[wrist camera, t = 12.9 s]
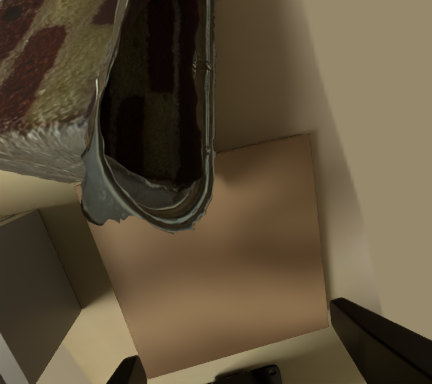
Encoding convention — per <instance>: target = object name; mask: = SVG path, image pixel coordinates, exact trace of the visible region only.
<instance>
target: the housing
mask: <svg viewBox="0 0 432 384" xmlns="http://www.w3.org/2000/svg"><path fill="white" fill-rule="evenodd" d="M81 311H82V309H81V307H80V305H79V303H78V300H77V298H76V296H75V294H74V291H73V289H72V287H71V284H70V282H69V280H68V278H67V275H66V273H65V271H64V269H63V266H62V264H61V262H60V259H59V257H58V255H57V253H56V250H55V248H54V246H53V244H52V241H51V239H50V237H49V234H48V232H47V230H46V228H45V225H44V223H43V221H42V219H41V216H40V214H39V212H38V209H36V210H32V211H27V212H23V213H21V214H18V215H15V214H14V215H10V216H6V217H1V218H0V384H36V382H37V381H38V379H39V378H40V376H41V374H42V373H43V371H44V370H45V368H46V366H47V365H48V363H49V362H50V360H51V358H52V357H53V355H54V353H55V352H56V350H57V349H58V347H59V346H60V344H61V342H62V341H63V339H64V338H65V336H66V334H67V333H68V331H69V330H70V328H71V327H72V325H73V323H74V322H75V320H76V319H77V317H78V315H79V314H80V312H81Z"/></svg>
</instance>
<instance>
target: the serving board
mask: <svg viewBox="0 0 432 384" xmlns="http://www.w3.org/2000/svg"><path fill="white" fill-rule="evenodd" d="M214 159H215V160H214V169H215V171H214V180H215V181H214V183H215V184H214V186H213V187H214V189H213V198H212V201H211V203H210V204H209V207H208V208H207V210H206V213H207V214H205V215H204V216H202V218H201V219H200V220H199V222H198V221H197V222H195V226H194V225H193V227H194V228H195V230H184V231H178V232H179V233H176V232H175V233H174V234H172V233H168V232H164V231H162V230H160V229H158V228H154V227H153V226H152V225H151V224H150V223H149V222H147V221H145V220H143V219H140V218H138V217H136V216H128V218H127V219H125V220H122V219H120V224H119V223H118V222H116V221H115V220H111V219H108V220H107V221H106V222H105V223H104V225H102V226H98V225H95V224H93V223H90V222H88V221H87V222H88V225H89V228H90V230H91V233H92V235H93V238H94V241H95V243H96V246H97V248H98V251H99V254H100V256H101V259H102V261H103V264H104V267H105V269H106V272H107V274H108V277H109V280H110V282H111V285H112V287H113V290H114V293H115V295H116V298H117V300H118V303H119V306H120V308H121V311H122V313H123V316H124V319H125V321H126V324H127V326H128V329H129V331H130V334H131V337H132V339H133V342H134V344H135V347H136V350H137V352H138V355H139V357H140V359H141V362H142V365H143V367H144V370H145V372H146V376H147V378H148V379H151V378H155V377H158V376H161V375H165V374H168V373H172V372H175V371H179V370H182V369H186V368H189V367H192V366H196V365H199V364H203V363H206V362H210V361H213V360H217V359H220V358H223V357H227V356H230V355H234V354H237V353H241V352H244V351H248V350H251V349H254V348H258V347H261V346H265V345H268V344H272V343H275V342H279V341H282V340H285V339H289V338H292V337H296V336H299V335H303V334H306V333H310V332H313V331H316V330H320V329H323V328H327V327H329V322H328V312H327V302H326V292H325V282H324V272H323V262H322V252H321V242H320V232H319V222H318V212H317V202H316V192H315V182H314V172H313V162H312V152H311V142H310V134H299V135H294V136H290V137H285V138H281V139H276V140H272V141H268V142H263V143H259V144H254V145H250V146H245V147H241V148H236V149H232V150H227V151H223V152H219V153H216V158H214ZM74 189H75V191H76V194H77V196H78V199H79V202H80V204H81V197H82V189H81V184H80V185H77V186H75V187H74ZM86 220H87V219H86Z"/></svg>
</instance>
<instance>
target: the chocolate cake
mask: <svg viewBox="0 0 432 384" xmlns="http://www.w3.org/2000/svg"><path fill="white" fill-rule="evenodd" d="M215 5H216V4H215V0H0V170H3V171H10V172H14V173H18V174H21V175H29V176H35V177H39V178H42V179H47V180H55V181H58V182H64V183H73V182H80V181H81V182H82V184H81V189H82V197H81V209H82V212H83V214H84V217H85V218H86V219H87V221H88V222H90V223H93V224H95V225H98V226H102V225H104V223H105V222H106V221H107V220H108V219H111V220H115V221H116V222H118V223H119V224H120V219H122V220H125V219H127V218H128V216H136V217H138V218H140V219H143V220H145V221H147V222H149V223H150V224H151V225H152V226H153V227H154V228H158V229H160V230H162V231H164V232H168V233H172V234H174V233H175V232H176V233H179V232H178V231H184V230H195V228H194V227H193V225H194V226H195V222H197V221H198V222H199V220H200V219H201V218H202V216H204V215H205V214H207V213H206V210H207V208H208V207H209V204H210V203H211V201H212V198H213V189H214V187H213V186H214V184H215V183H214V181H215V180H214V171H215V169H214V160H215V159H214V158H216V152H215V151H214V150H213V149H214V147H213V139H214V138H215V116H214V113H215V112H214V98H215V95H214V88H215V81H216V78H215V77H216V76H215V74H216V73H215V71H214V69H215V59H214V57H216V51H215V49H216V47H215V42H214V31H213V29H214V27H215V24H214V19H215V16H214V13H215Z"/></svg>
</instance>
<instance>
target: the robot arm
mask: <svg viewBox="0 0 432 384" xmlns="http://www.w3.org/2000/svg"><path fill="white" fill-rule="evenodd" d="M330 315H331V322H332V325H333V328H334V329H335V331H336V333H337V335H338V336H339V338H340V340H341V341H342V343H343V345H344V346H345V348H346V350H347V351H348V353H349V355H350V356H351V358H352V360H353V361H354V363H355V365H356V366H357V368H358V370H359V371H360V373H361V375H362V376H363V378H364V379H365V381H366V383H367V384H432V340H430V339H427V338H425V337H423V336H421V335H419V334H417V333H415V332H413V331H411V330H409V329H407V328H405V327H403V326H401V325H399V324H397V323H394V322H392V321H390V320H388V319H386V318H384V317H382V316H380V315H378V314H376V313H374V312H372V311H370V310H368V309H366V308H364V307H361V306H359V305H357V304H355V303H353V302H351V301H349V300H347V299H345V298H337V299H333V300H331V301H330ZM271 370H275V372H274V373H269V372H270V371H271ZM106 384H147V376H146V372H145V370H144V367H143V365H142V362H141V359H140V357H139V356H138V355H135V356H131V357H128V358H125V359H124V360H123V361H122V362H121V363H120V365H119V366H118V368H117V369H116V370H115V372H114V373H113V375H112V376H111V378H110V379H109V380H108V382H107V383H106ZM208 384H282V381H281V375H280V370H279V368H278V366H277V365H274V364H273V365H268V366H265V367H261V368H258V369H255V370H251V371H246V372H242V373H239V374H236V375H232V376H229V377H226V378H222V379H219V380H216V381H213V382H211V383H208Z"/></svg>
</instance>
